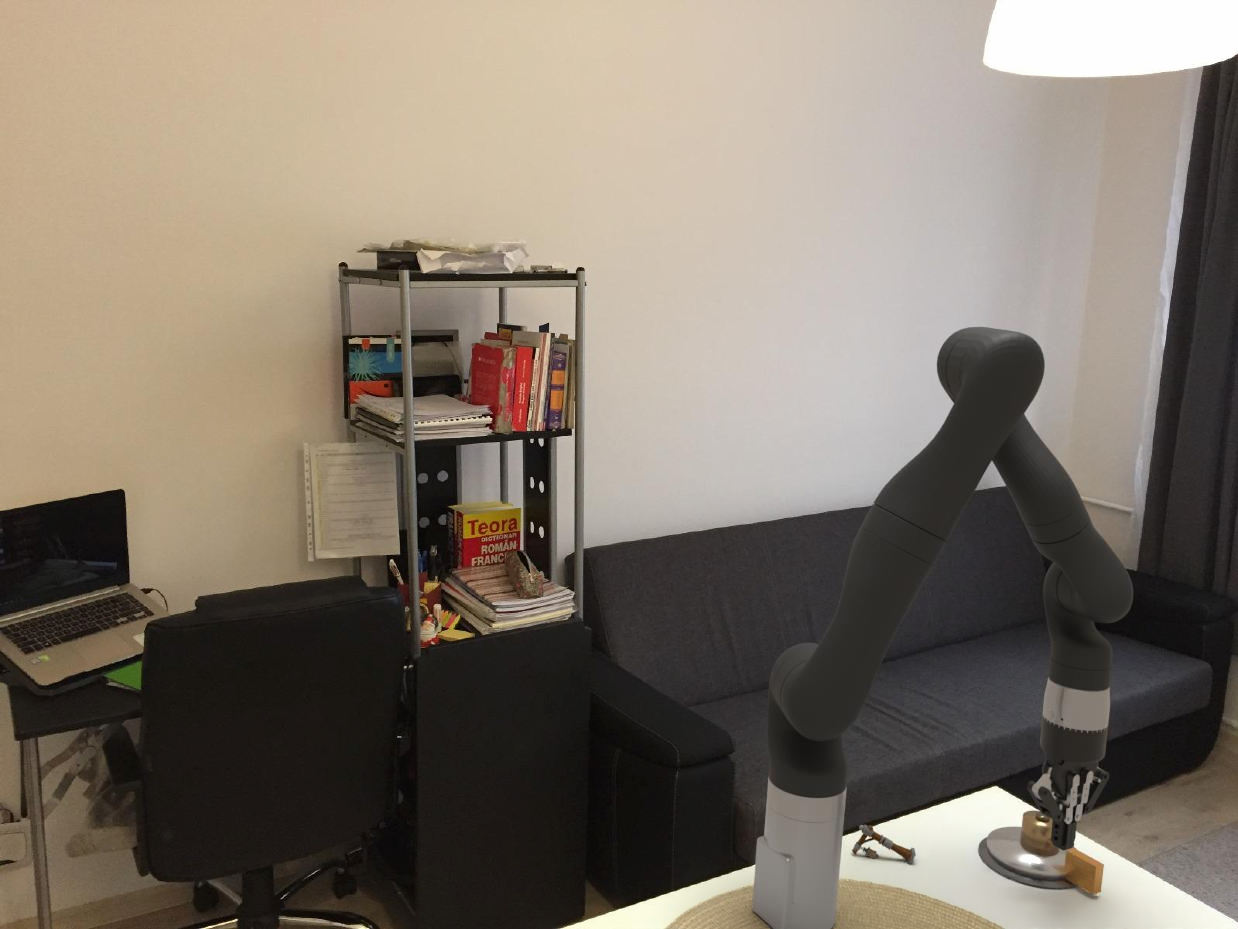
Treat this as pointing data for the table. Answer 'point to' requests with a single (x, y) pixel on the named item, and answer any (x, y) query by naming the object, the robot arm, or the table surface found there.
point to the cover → (1037, 834)
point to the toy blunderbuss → (885, 842)
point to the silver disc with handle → (1044, 861)
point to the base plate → (1019, 877)
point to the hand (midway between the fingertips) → (1062, 846)
